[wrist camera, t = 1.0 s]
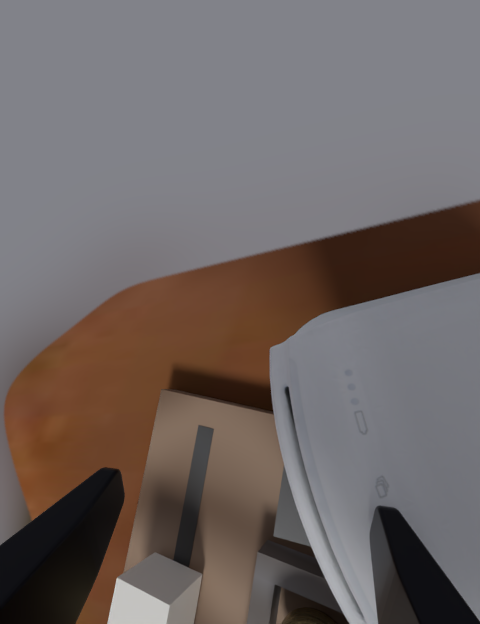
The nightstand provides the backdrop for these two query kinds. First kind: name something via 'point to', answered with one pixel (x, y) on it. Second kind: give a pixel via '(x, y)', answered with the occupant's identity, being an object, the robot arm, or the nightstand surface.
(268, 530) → the control panel
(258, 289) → the nightstand surface
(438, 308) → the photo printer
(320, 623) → the brass button
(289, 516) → the rocker switch
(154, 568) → the slider knob
